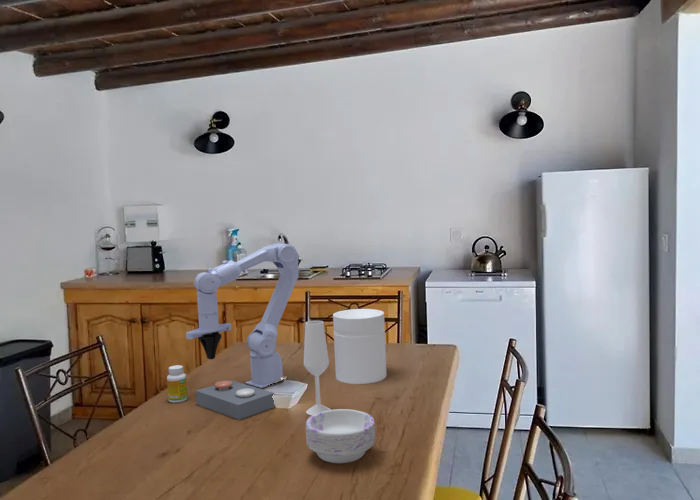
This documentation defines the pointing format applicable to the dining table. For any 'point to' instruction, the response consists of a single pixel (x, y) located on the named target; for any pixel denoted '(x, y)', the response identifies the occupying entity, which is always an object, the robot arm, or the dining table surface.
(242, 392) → the grey plunger
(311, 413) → the champagne flute
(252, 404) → the panel
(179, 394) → the supplement bottle
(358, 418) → the paper bowls
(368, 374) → the canister
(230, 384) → the red plunger
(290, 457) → the dining table surface
